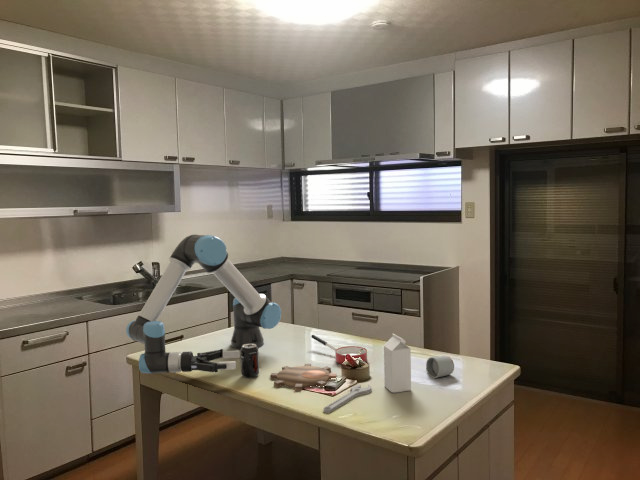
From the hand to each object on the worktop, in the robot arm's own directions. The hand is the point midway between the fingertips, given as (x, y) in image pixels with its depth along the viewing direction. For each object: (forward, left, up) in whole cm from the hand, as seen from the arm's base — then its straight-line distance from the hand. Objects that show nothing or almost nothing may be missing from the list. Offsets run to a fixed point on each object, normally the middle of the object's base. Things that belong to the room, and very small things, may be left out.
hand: (237, 359), depth 202 cm
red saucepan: (-27, +35, -7) cm, 45 cm away
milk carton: (+10, +60, -7) cm, 62 cm away
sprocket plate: (+1, +25, -7) cm, 26 cm away
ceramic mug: (-5, +76, -7) cm, 76 cm away
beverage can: (-1, +4, -7) cm, 8 cm away
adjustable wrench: (+20, +43, -8) cm, 48 cm away
